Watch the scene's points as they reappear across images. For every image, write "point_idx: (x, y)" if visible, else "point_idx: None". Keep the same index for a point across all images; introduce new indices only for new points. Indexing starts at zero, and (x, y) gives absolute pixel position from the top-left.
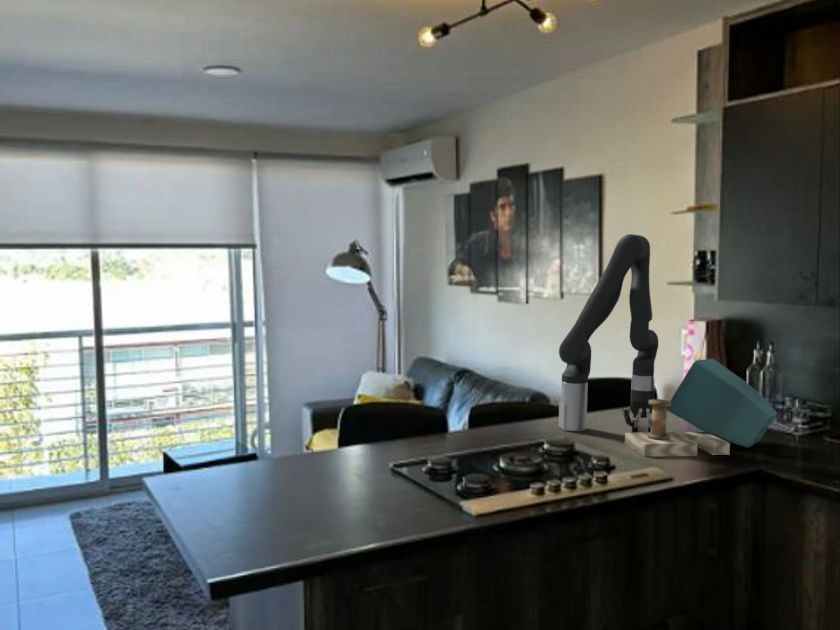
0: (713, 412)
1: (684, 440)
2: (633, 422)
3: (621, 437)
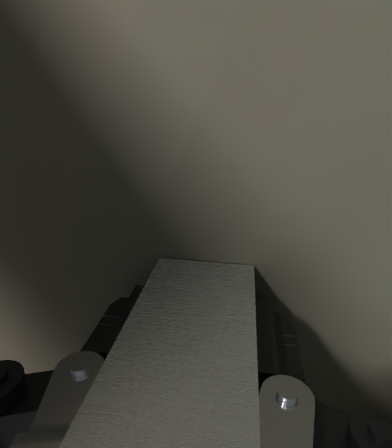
0: None
1: None
2: (64, 412)
3: (64, 188)
